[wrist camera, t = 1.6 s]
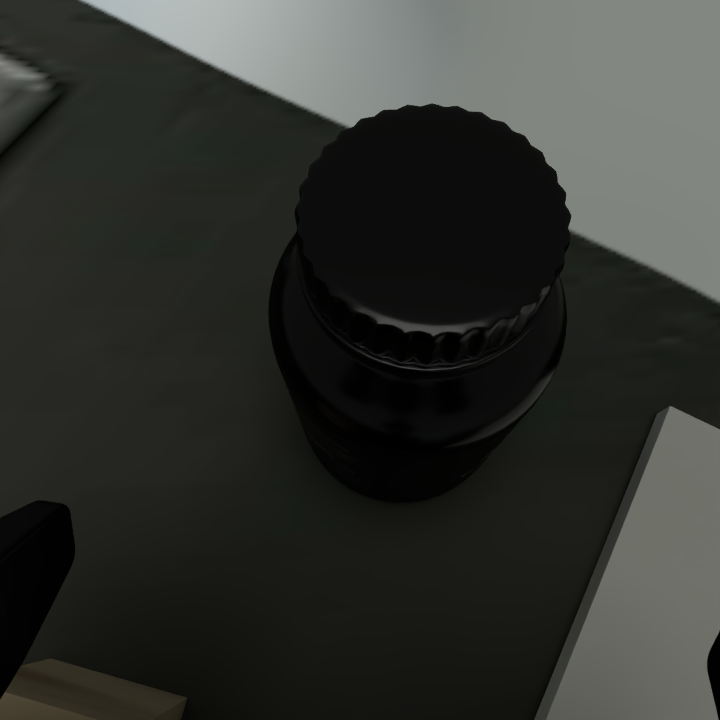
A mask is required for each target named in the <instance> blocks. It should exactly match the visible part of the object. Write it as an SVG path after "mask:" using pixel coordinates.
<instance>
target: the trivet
mask: <svg viewBox="0 0 720 720" xmlns="http://www.w3.org/2000/svg"><path fill="white" fill-rule="evenodd" d="M719 631H720V430H719V429H717V428H715V427H713V426H711V425H709V424H707V423H705V422H703V421H701V420H698V419H696V418H694V417H692V416H690V415H688V414H686V413H684V412H682V411H680V410H678V409H675V408H673V407H671V406H669V407H668V408H666V409H664V410H663V411H661V412H659V413H658V414H657V415H656V418H655V420H654V423H653V425H652V428H651V430H650V433H649V435H648V438H647V440H646V443H645V445H644V448H643V450H642V453H641V455H640V458H639V460H638V463H637V465H636V468H635V470H634V473H633V475H632V478H631V480H630V482H629V485H628V487H627V490H626V492H625V495H624V497H623V500H622V502H621V505H620V507H619V510H618V512H617V515H616V517H615V520H614V522H613V525H612V527H611V530H610V532H609V535H608V537H607V540H606V542H605V545H604V547H603V550H602V552H601V555H600V557H599V560H598V562H597V565H596V567H595V570H594V572H593V575H592V577H591V580H590V582H589V585H588V587H587V590H586V592H585V594H584V597H583V599H582V602H581V604H580V607H579V609H578V612H577V614H576V617H575V619H574V622H573V624H572V627H571V629H570V632H569V634H568V637H567V639H566V642H565V644H564V647H563V649H562V652H561V654H560V657H559V659H558V662H557V664H556V667H555V669H554V672H553V674H552V677H551V679H550V682H549V684H548V687H547V689H546V692H545V694H544V697H543V699H542V702H541V704H540V706H539V709H538V711H537V714H536V716H535V719H534V720H719V719H718V715H717V711H716V706H715V702H714V698H713V694H712V689H711V685H710V681H709V676H708V671H707V659H708V654H709V651H710V649H711V647H712V645H713V643H714V641H715V639H716V637H717V635H718V633H719Z"/></svg>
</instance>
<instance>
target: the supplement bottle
mask: <svg viewBox="0 0 720 720" xmlns="http://www.w3.org/2000/svg"><path fill="white" fill-rule="evenodd" d="M557 181H558V180H557V174H556V171H555V170H554V169H553V168H552V167H550V166H549V165H548V164H547V163H546V161H545V157H544V155H543V153H542V152H541V151H539V150H538V149H536V148H535V147H533V146H531V145H530V143H529V141H528V140H527V138H526V137H525V136H524V135H522V134H519V133H516V132H514V131H512V130H511V129H510V128H509V126H508V125H507V124H505V123H504V122H501V121H496V120H492V119H490V118H489V117H488V116H486V115H485V114H483V113H482V112H469V111H467V110H465V109H463V108H460V107H458V106H451V107H443V106H439V105H436V104H428V105H425V106H421V107H419V106H413V105H406V106H404V107H402V108H399V109H397V110H383V111H381V112H380V113H378V114H377V115H376V116H375V117H369V118H363V119H361V120H359V121H358V122H357V124H356V125H355V126H354V127H352V128H349V129H346V130H343V131H341V132H340V133H339V135H338V136H337V139H336V140H335V141H333V142H331V143H329V144H328V145H326V146H325V147H323V150H322V152H321V156H320V157H319V158H318V159H317V160H315V161H314V162H313V163H312V164H311V165H310V167H309V173H308V177H307V178H306V179H305V180H304V182H303V183H302V184H301V186H300V189H299V193H300V201H299V202H298V204H297V206H296V209H295V219H296V224H297V232H296V234H295V235H294V236H293V238H292V239H291V241H290V242H289V244H288V245H287V247H286V249H285V250H284V252H283V254H282V256H281V258H280V260H279V263H278V265H277V268H276V271H275V274H274V277H273V281H272V285H271V290H270V297H269V310H268V316H269V328H270V334H271V340H272V345H273V349H274V353H275V356H276V360H277V363H278V365H279V368H280V370H281V373H282V376H283V378H284V381H285V383H286V386H287V389H288V391H289V394H290V396H291V399H292V401H293V404H294V407H295V409H296V412H297V414H298V417H299V420H300V422H301V425H302V427H303V430H304V432H305V435H306V437H307V439H308V441H309V444H310V445H311V447H312V449H313V451H314V453H315V454H316V456H317V457H318V459H319V460H320V462H321V463H322V464H323V465H324V467H325V468H326V469H327V470H328V471H329V472H330V473H331V474H332V475H333V476H334V477H335V478H337V479H338V480H339V481H340V482H341V483H343V484H344V485H346V486H348V487H349V488H351V489H353V490H355V491H356V492H358V493H361V494H363V495H366V496H368V497H371V498H375V499H378V500H384V501H390V502H413V501H420V500H425V499H429V498H432V497H435V496H438V495H440V494H443V493H445V492H447V491H449V490H451V489H452V488H454V487H456V486H457V485H459V484H460V483H462V482H463V481H464V480H466V479H467V478H468V477H469V476H470V475H471V474H472V473H473V472H474V471H475V470H477V469H478V467H479V466H480V465H481V464H482V463H483V462H484V461H485V460H486V459H487V458H488V456H489V455H490V454H491V453H492V452H493V451H494V450H495V449H496V447H497V446H498V445H499V444H500V443H501V442H502V441H503V440H504V438H505V437H506V436H507V435H508V434H509V433H510V432H511V431H512V429H513V428H514V427H515V426H516V425H517V424H518V423H519V422H520V420H521V419H522V418H523V417H524V416H525V415H526V414H527V413H528V411H529V410H530V409H531V408H532V407H533V406H534V404H535V403H536V402H537V400H538V399H539V398H540V396H541V395H542V393H543V392H544V390H545V389H546V387H547V385H548V384H549V382H550V380H551V378H552V377H553V375H554V373H555V370H556V368H557V366H558V363H559V361H560V357H561V354H562V351H563V347H564V341H565V336H566V325H567V309H566V300H565V293H564V289H563V285H562V281H561V278H560V275H559V274H560V273H561V271H562V269H563V267H564V257H565V255H564V254H565V252H566V251H567V249H568V247H569V245H570V241H571V238H570V233H569V230H568V226H569V223H570V220H571V214H570V212H569V210H568V208H567V207H566V205H565V201H566V192H565V191H564V189H563V188H562V187H561V186H560V185H559V184H558V182H557Z"/></svg>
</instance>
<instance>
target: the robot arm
mask: <svg viewBox="0 0 720 720" xmlns="http://www.w3.org/2000/svg"><path fill="white" fill-rule="evenodd" d="M74 556H75V543H74V535H73V528H72V521H71V514H70V510H69V508H68V507H67V506H66V505H64V504H62V503H56V502H49V501H43V500H41V501H35V502H32V503H30V504H28V505H26V506H24V507H22V508H20V509H17V510H15V511H13V512H11V513H9V514H7V515H5V516H3V517H1V518H0V699H1V698H2V696H3V695H4V693H5V691H6V690H7V688H8V687H9V685H10V683H11V682H12V680H13V678H14V677H15V675H16V673H17V672H18V670H19V668H20V667H21V665H22V663H23V661H24V659H25V657H26V655H27V653H28V652H29V650H30V648H31V646H32V644H33V642H34V640H35V638H36V636H37V634H38V632H39V630H40V628H41V626H42V624H43V622H44V620H45V618H46V616H47V614H48V612H49V610H50V608H51V606H52V604H53V602H54V600H55V598H56V596H57V594H58V592H59V590H60V588H61V586H62V584H63V582H64V580H65V578H66V576H67V574H68V572H69V570H70V568H71V566H72V563H73V560H74ZM707 671H708V676H709V681H710V685H711V689H712V694H713V698H714V702H715V706H716V711H717V715H718V719H719V720H720V631H719V633H718V635H717V637H716V639H715V641H714V643H713V645H712V647H711V649H710V651H709V654H708V659H707Z"/></svg>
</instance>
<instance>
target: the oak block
mask: <svg viewBox="0 0 720 720" xmlns="http://www.w3.org/2000/svg"><path fill="white" fill-rule="evenodd" d="M186 701H187V697H183V696H180V695H176V694H173V693H169V692H166V691H162V690H159V689H155V688H152V687H149V686H145V685H142V684H138V683H135V682H131V681H128V680H124V679H121V678H117V677H114V676H110V675H107V674H103V673H100V672H96V671H93V670H89V669H86V668H83V667H79V666H76V665H72V664H69V663H65V662H62V661H58V660H55V659H47V660H43V661H39V662H34V663H30V664H26V665H22V666H21V667H20V668H19V670H18V672H17V673H16V675H15V677H14V678H13V680H12V682H11V683H10V685H9V687H8V688H7V690H6V691H5V693H4V695H3V696H2V698H1V699H0V720H181V718H182V715H183V711H184V708H185V705H186Z"/></svg>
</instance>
